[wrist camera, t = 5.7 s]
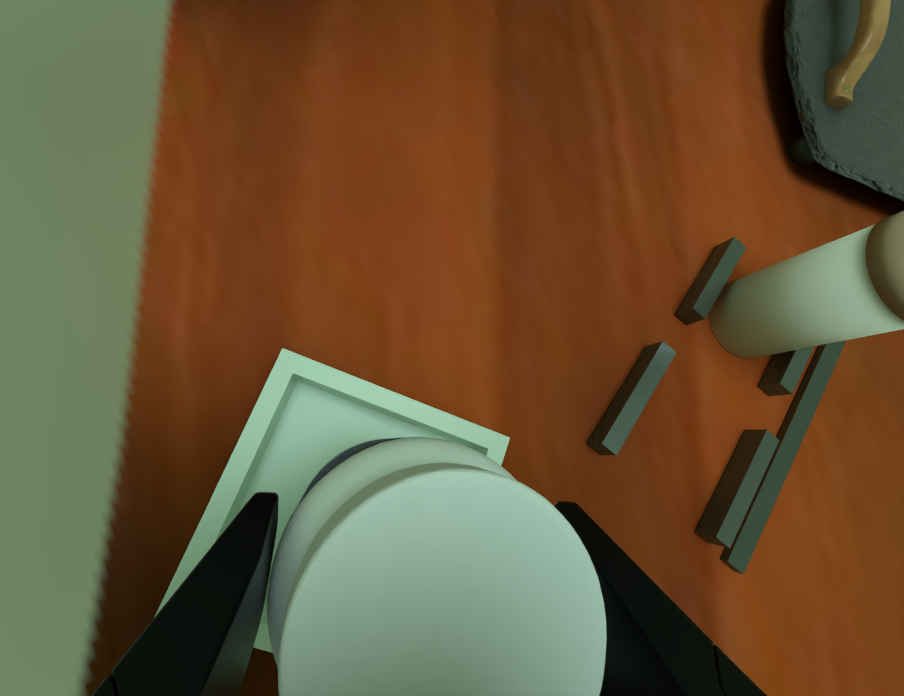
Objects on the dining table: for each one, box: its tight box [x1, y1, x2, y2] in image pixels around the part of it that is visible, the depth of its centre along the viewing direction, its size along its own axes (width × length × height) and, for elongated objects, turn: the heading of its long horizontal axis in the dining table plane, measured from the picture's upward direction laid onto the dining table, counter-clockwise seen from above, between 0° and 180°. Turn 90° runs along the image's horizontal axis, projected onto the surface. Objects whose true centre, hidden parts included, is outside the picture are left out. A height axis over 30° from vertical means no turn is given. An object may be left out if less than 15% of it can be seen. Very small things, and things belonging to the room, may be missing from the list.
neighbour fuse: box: [709, 211, 904, 359], centre depth 24 cm, size 5×5×10 cm
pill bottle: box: [267, 437, 607, 696], centre depth 11 cm, size 6×6×10 cm
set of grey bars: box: [587, 237, 845, 574], centre depth 27 cm, size 17×11×2 cm, turn 143°
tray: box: [155, 348, 510, 653], centre depth 20 cm, size 11×11×3 cm
